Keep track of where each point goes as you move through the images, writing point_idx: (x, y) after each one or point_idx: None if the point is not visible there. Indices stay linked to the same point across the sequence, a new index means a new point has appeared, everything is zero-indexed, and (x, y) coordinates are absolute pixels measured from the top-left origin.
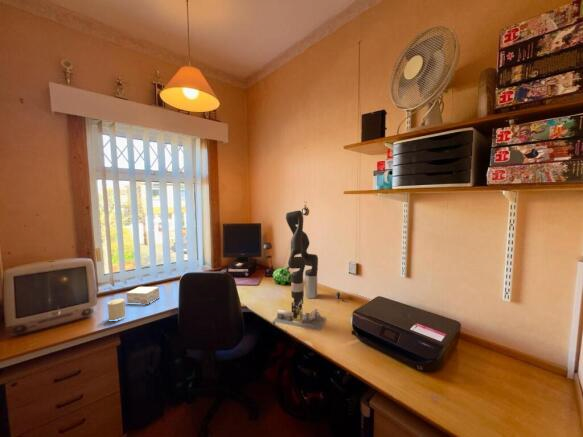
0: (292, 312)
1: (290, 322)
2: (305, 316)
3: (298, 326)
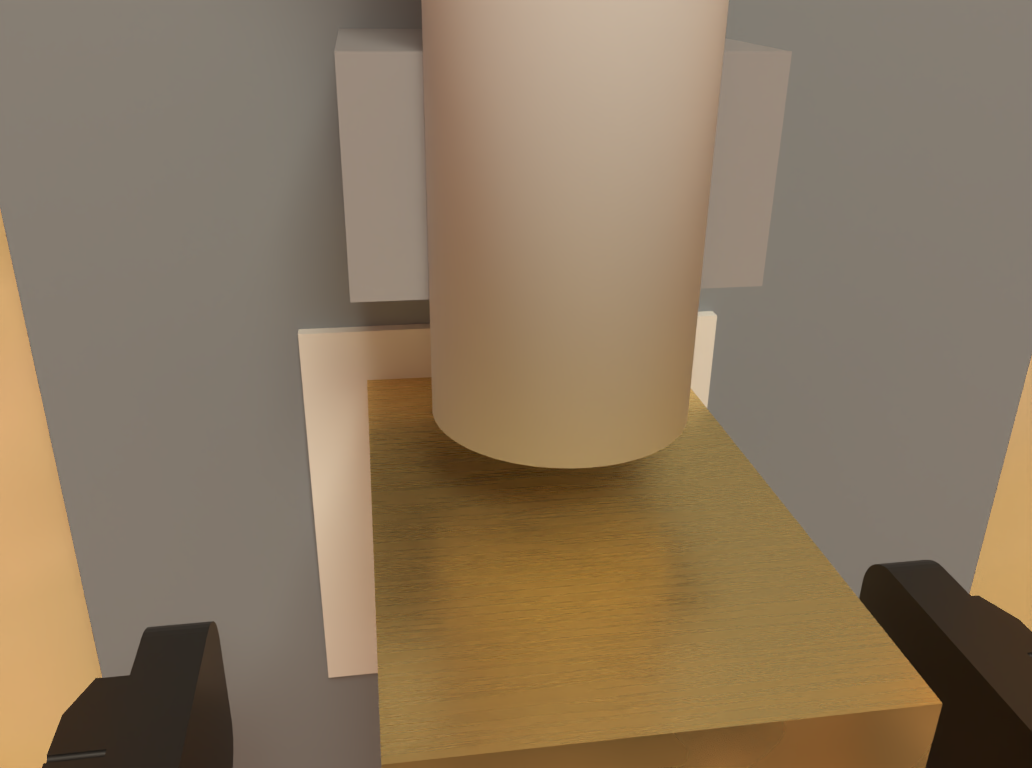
0: (548, 454)
1: (228, 309)
2: None
3: None
